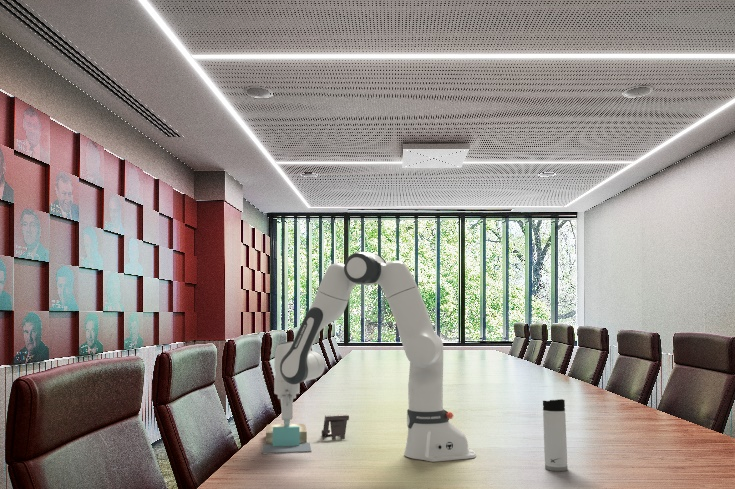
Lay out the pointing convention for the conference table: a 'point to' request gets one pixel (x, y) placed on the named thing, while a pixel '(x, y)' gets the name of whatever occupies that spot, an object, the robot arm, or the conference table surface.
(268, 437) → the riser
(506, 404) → the conference table surface
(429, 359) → the robot arm
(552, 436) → the travel mug
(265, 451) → the mat
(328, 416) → the portable electronic device stand
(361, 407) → the conference table surface
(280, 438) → the turquoise rectangular block
